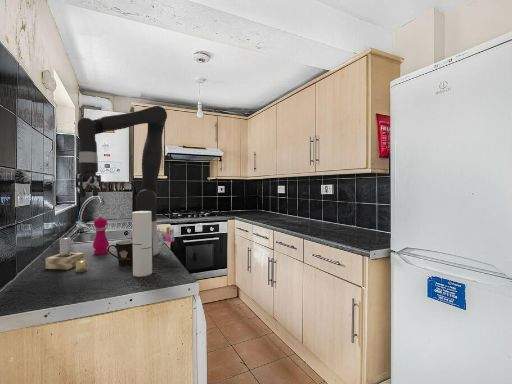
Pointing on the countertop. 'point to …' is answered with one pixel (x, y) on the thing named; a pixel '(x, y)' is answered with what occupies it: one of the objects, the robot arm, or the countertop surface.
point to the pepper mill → (100, 236)
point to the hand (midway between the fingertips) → (89, 196)
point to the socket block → (63, 261)
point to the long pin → (65, 247)
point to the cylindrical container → (142, 243)
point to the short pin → (81, 266)
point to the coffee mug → (124, 252)
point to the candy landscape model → (164, 236)
